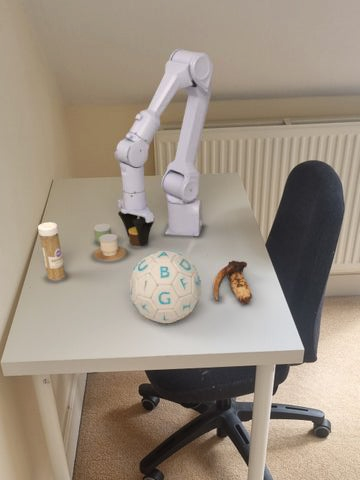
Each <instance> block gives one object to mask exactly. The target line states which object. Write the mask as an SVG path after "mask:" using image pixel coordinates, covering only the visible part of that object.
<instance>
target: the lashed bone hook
mask: <svg viewBox="0 0 360 480" xmlns="http://www.w3.org/2000/svg"><path fill="white" fill-rule="evenodd" d="M247 266H248V263H247V262H246V261H243V260H242V261H236V260H232V261H228V264H227V265H225V266H224V267H223V268H222V269H221V270H219V271H218V272H217V274H216V276H215V278H214V280H213V284H212V293H213V296H214V298H215V300H216V302H219V290H220V286H221V284H222V282H223V280H224V279H225V277H227V278H228V281H229V285H230V288H231V291H232V292H233V294H234V295H235V297H236V298H237V299H238V301H239V302H240V303H241V304H243V305H244V304H245V305H246V304H248V303H250V301H251V299H252V297H253V294H252V290H251V288H250V285H249V283H248V281H247V279H246V277H245V276H244V274H243V272H244V270H245V268H247Z"/></svg>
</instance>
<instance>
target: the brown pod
mask: <svg viewBox="0 0 360 480" xmlns="http://www.w3.org/2000/svg"><path fill="white" fill-rule="evenodd" d="M128 231H129V237H128V238H129V243H130V245H131V246H132V247H133V246H134V247H142V246H144V245H145V244H143V245H140V243H139V239H138V234H137V230H136V227H132V228H130V229H129V230H128Z"/></svg>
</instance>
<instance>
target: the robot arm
mask: <svg viewBox="0 0 360 480" xmlns="http://www.w3.org/2000/svg"><path fill="white" fill-rule="evenodd" d="M164 68H165V69H164V75H163V76H162V79H161V81H160V82H159V85H158V87H157V89H156V91H155V93H154V95H153V97H152V99H151V102H150V103H149V106H148V107H147V108H146V109H143V110H140V111H139V113H137V114H136V116H135V118H134V119H135V120H134V122H133V124H132V126H131V127H130V129H129V130H128V132H127V133H126V135H125V138H123V139H121V140H120V141H119V142H118V143H117V146H116V148H115V151H114V157H115V159H116V160H117V161H118V163H119V168H120V173H121V174H120V175H121V185H122V196H123V198H120V199H117V203H118V207H119V208H120V211H118V212H117V214H118V216H119V218H120V219H121V221H122V223H123V226H124V228H125V231H126V235H127V236H128V238H129V231H128V230H129V229H130V228H132V227H136V230H137V234H138V239H139V243H140V245H142V246H144V245H146V244H148V242H149V238H150V237H149V236H150V233H151V229H152V226H153V224H154V222H155V217H154V216H155V214H154V213H153V212H152V210H150V208H149V207H148V205H147V198H146V182H145V169H144V168H145V165H144V164H146V162H147V161H148V157H149V149H150V144H151V143H152V141H153V140H154V138H155V136H156V134H157V133H158V131H159V129H160V127H161V119H160V118H161V116H162V115H163V113H164V111H165V110H166V109H167V108H168V106H169V104H171V102H172V100H173V98H174V97H175V95H176V93H177V92H178V91H179V90H181V89H184V91H185V92H186V94H187V101H186V106H185V110H184V114H183V120H182V124H181V129H180V133H179V138H178V142H177V148H176V152H175V157H174V160H173V161H171V162H170V163H168V164H167V166H166V170H165V173H164V174H163V176H162V178H161V184H160V185H161V189H162V191H163V192H164V194H165V197H166V199H167V221H168V222H167V223H168V225H167V229H166V230H165V235H183V236H185V235H187V236H192V237H199V236H200V233H201V231H202V229H203V202H202V200H201V199H198V198H197V197H198V195H199V191H200V177H201V174H200V172H199V170H198V168H197V166H196V161H197V157H198V153H199V148H200V144H201V139H202V137H203V136H202V135H203V132H204V131H203V130H204V126H205V122H206V118H207V114H208V109H209V105H210V99H211V97H212V96H211V95H212V77H213V73H214V69H215V68H214V65H213V62H212V60H211V58H210V56H209V55H208V54H207V53H205V52H197V51H191V50H185V49H183V48H177V49H175V50H173V51H172V53H171V54H170V57H169V59H168V61H166V63H165V67H164ZM143 244H144V245H143Z"/></svg>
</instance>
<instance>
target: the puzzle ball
mask: <svg viewBox="0 0 360 480" xmlns="http://www.w3.org/2000/svg"><path fill="white" fill-rule="evenodd" d="M128 284H129V295H130V299H131V302H132V303H133V306H134V307H135V309H136V311H137V312H139V314H141V315H142V316H143V317H145V318H147V319H149V320H151V321H154V322H157V323H161V324H163V325H164V324H171V323H174V322H177V321H179V320H182V319H183V318H186V317H188V316H189V314H191V313H192V311H193V310H194V309H195V308H196V306H197V304H198V303H199V300H200V296H201V292H202V287H201V284H202V283H201V279H200V275H199V273H198V270H197V269H196V267H195V265H194V264H193V263H192V261H190V260H189V259H188V258H187V257H186V256H184V255H182V254H180V253H178V252H174V251H170V250H169V251H168V250H159V251H156V252H153V253H149V254H148V255H145V256H144V257H143V258H142V259H141V260H140V261H139V262H138V263H137V264H136V265H135V266H134V267H133V270H132V274H131V276H130V279H129V283H128Z"/></svg>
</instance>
